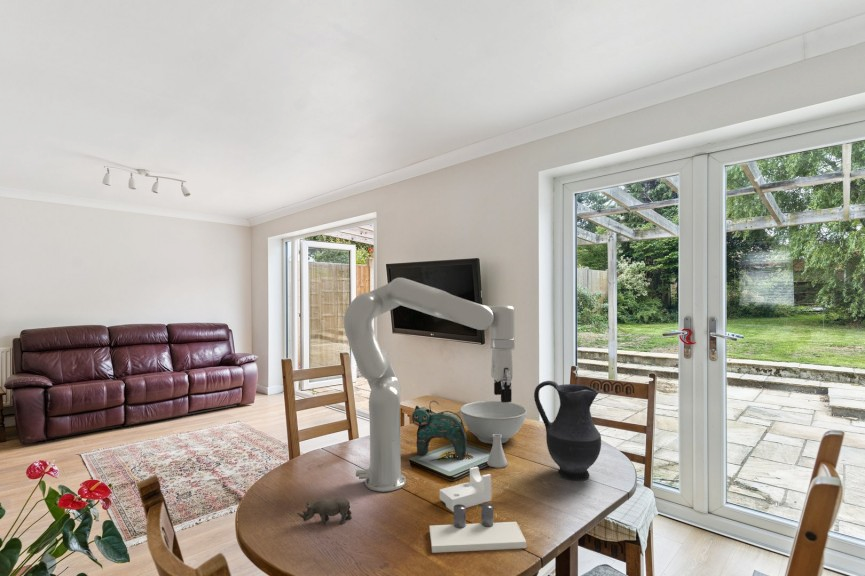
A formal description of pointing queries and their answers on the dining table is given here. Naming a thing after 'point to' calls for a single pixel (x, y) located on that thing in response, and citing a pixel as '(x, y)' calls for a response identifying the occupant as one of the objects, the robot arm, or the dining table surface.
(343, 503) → the rhino figurine
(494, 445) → the flask
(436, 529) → the board
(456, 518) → the peg
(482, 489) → the bracket
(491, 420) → the decorative bowl
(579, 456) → the pitcher
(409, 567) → the dining table surface
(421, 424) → the cat figurine
